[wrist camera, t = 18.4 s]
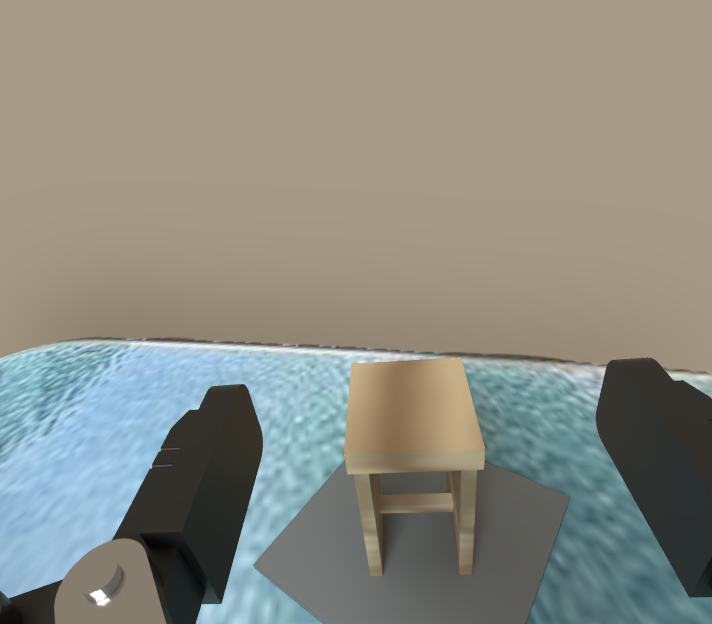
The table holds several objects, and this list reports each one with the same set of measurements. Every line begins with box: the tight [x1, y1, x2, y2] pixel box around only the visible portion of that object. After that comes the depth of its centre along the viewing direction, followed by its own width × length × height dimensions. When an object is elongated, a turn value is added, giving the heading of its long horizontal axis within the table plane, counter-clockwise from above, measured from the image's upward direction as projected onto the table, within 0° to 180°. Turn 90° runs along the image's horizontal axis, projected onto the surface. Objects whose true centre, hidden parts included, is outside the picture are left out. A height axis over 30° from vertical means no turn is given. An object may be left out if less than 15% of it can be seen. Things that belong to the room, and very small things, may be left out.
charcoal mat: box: [253, 460, 570, 624], centre depth 31 cm, size 16×16×1 cm
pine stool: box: [344, 358, 485, 576], centre depth 27 cm, size 7×7×12 cm
